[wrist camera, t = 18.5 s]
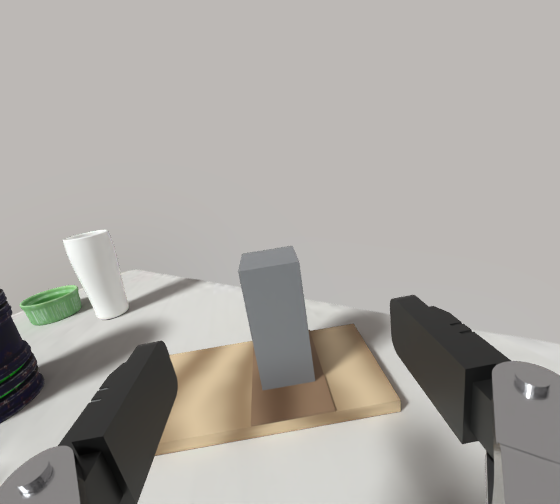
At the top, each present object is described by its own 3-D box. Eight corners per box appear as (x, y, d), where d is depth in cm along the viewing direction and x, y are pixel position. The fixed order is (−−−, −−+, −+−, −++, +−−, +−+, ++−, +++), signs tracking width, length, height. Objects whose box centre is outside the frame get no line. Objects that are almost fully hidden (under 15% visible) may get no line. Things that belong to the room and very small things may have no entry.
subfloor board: (354, 331, 35) (353, 322, 34) (400, 411, 23) (400, 398, 23) (155, 366, 34) (151, 356, 34) (102, 465, 23) (96, 452, 22)
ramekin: (93, 307, 56) (85, 287, 54) (38, 332, 49) (28, 309, 47) (74, 301, 61) (66, 282, 59) (22, 322, 54) (12, 302, 52)
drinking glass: (134, 300, 55) (110, 227, 51) (133, 314, 49) (106, 232, 45) (95, 312, 53) (66, 236, 48) (90, 328, 47) (56, 242, 42)
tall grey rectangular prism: (306, 347, 31) (291, 245, 28) (315, 381, 26) (299, 261, 23) (262, 355, 31) (242, 253, 27) (262, 390, 26) (238, 271, 22)
